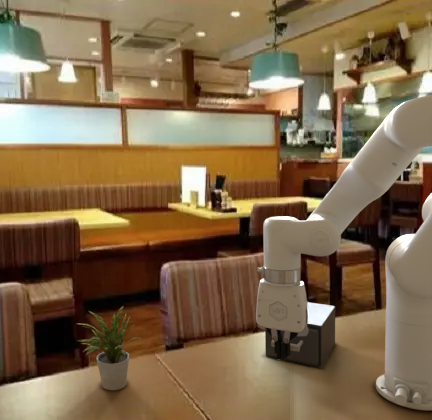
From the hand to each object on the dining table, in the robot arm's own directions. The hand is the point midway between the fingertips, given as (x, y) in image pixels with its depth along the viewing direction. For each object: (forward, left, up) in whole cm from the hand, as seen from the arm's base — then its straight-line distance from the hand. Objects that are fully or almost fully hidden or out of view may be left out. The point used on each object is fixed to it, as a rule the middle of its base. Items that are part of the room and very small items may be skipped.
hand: (282, 357), depth 96 cm
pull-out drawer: (+11, 0, -3) cm, 11 cm away
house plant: (-20, +31, -4) cm, 37 cm away
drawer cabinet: (+15, 0, -4) cm, 15 cm away
